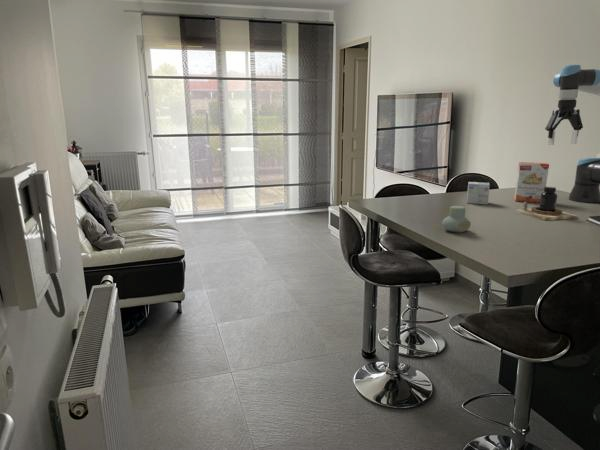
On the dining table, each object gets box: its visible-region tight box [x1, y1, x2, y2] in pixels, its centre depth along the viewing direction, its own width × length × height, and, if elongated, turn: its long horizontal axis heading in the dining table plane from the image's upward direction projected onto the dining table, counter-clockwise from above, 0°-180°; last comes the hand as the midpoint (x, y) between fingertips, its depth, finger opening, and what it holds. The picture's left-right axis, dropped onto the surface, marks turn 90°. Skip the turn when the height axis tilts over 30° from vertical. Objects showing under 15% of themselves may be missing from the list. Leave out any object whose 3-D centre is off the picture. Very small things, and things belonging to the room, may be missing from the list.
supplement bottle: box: [538, 186, 558, 212], centre depth 214 cm, size 7×7×12 cm
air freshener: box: [441, 205, 471, 234], centre depth 186 cm, size 11×8×10 cm
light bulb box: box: [466, 181, 490, 205], centre depth 242 cm, size 11×7×11 cm, turn 71°
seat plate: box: [516, 202, 578, 221], centre depth 215 cm, size 18×18×5 cm
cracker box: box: [513, 161, 550, 204], centre depth 245 cm, size 14×6×21 cm, turn 73°
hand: (562, 144), depth 223 cm, fingers open, 13 cm apart
